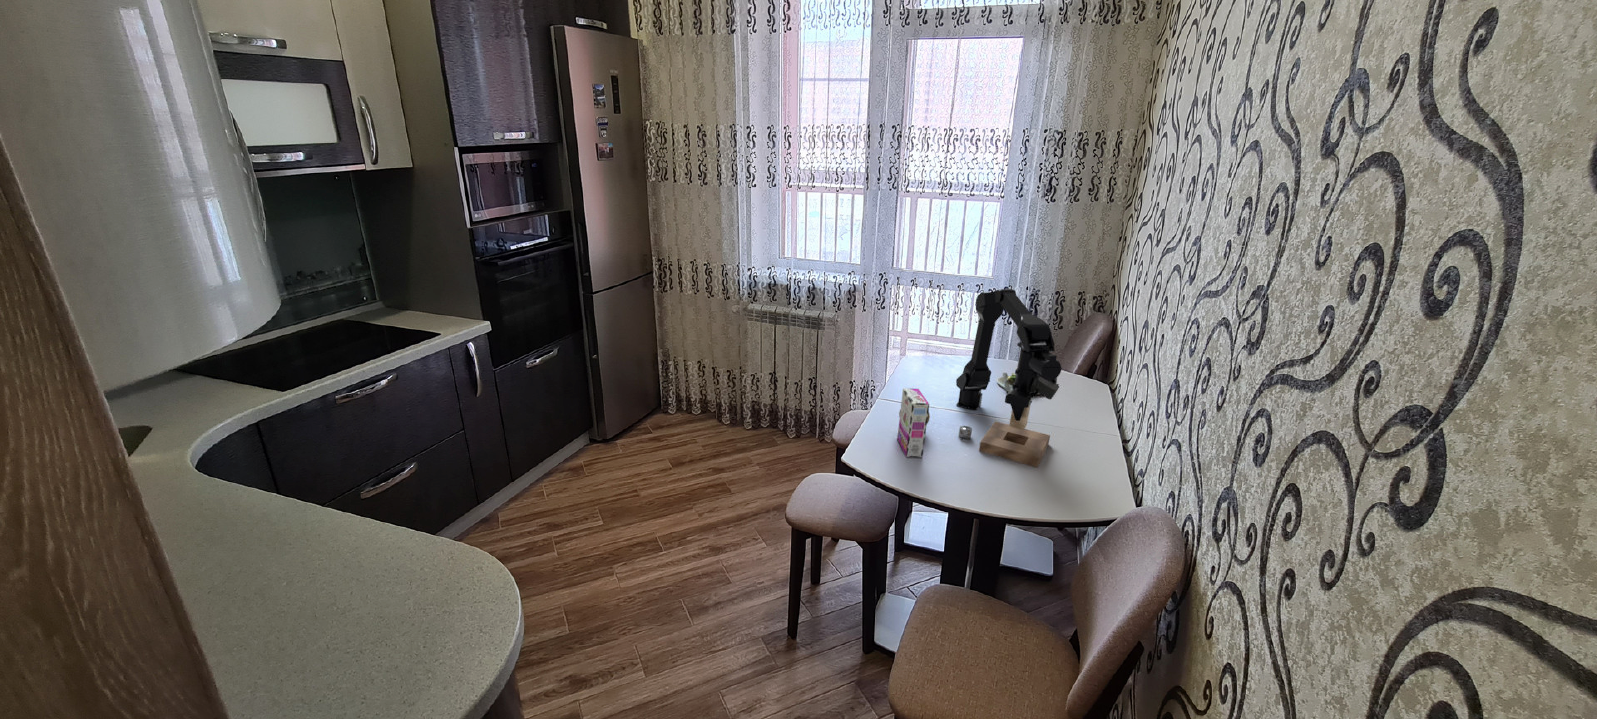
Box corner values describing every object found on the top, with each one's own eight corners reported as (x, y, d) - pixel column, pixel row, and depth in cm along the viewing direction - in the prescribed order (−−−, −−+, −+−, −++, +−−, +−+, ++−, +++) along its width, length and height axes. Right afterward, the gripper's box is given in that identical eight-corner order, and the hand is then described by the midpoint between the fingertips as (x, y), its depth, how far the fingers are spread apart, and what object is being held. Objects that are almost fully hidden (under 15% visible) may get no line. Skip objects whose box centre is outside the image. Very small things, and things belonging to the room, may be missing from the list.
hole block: (978, 450, 175) (980, 441, 174) (993, 430, 188) (995, 421, 187) (1037, 467, 168) (1039, 457, 167) (1048, 444, 180) (1050, 435, 179)
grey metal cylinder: (956, 438, 182) (958, 429, 181) (960, 433, 185) (961, 424, 184) (968, 441, 181) (970, 432, 180) (972, 436, 184) (973, 427, 182)
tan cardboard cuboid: (1009, 426, 175) (1013, 404, 172) (1012, 421, 178) (1016, 399, 176) (1023, 430, 173) (1027, 407, 170) (1026, 424, 176) (1030, 402, 174)
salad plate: (983, 378, 229) (985, 366, 228) (1026, 376, 233) (1028, 364, 232) (1011, 399, 212) (1013, 387, 210) (1056, 396, 216) (1059, 384, 214)
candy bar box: (923, 458, 170) (930, 404, 164) (906, 458, 170) (912, 404, 164) (913, 439, 181) (919, 387, 175) (896, 439, 180) (901, 387, 174)
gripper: (1053, 384, 158) (1042, 438, 163) (1065, 363, 173) (1055, 413, 178) (1009, 374, 163) (1000, 427, 169) (1024, 355, 178) (1015, 404, 184)
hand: (1019, 417), depth 175 cm, fingers closed on tan cardboard cuboid, 4 cm apart
